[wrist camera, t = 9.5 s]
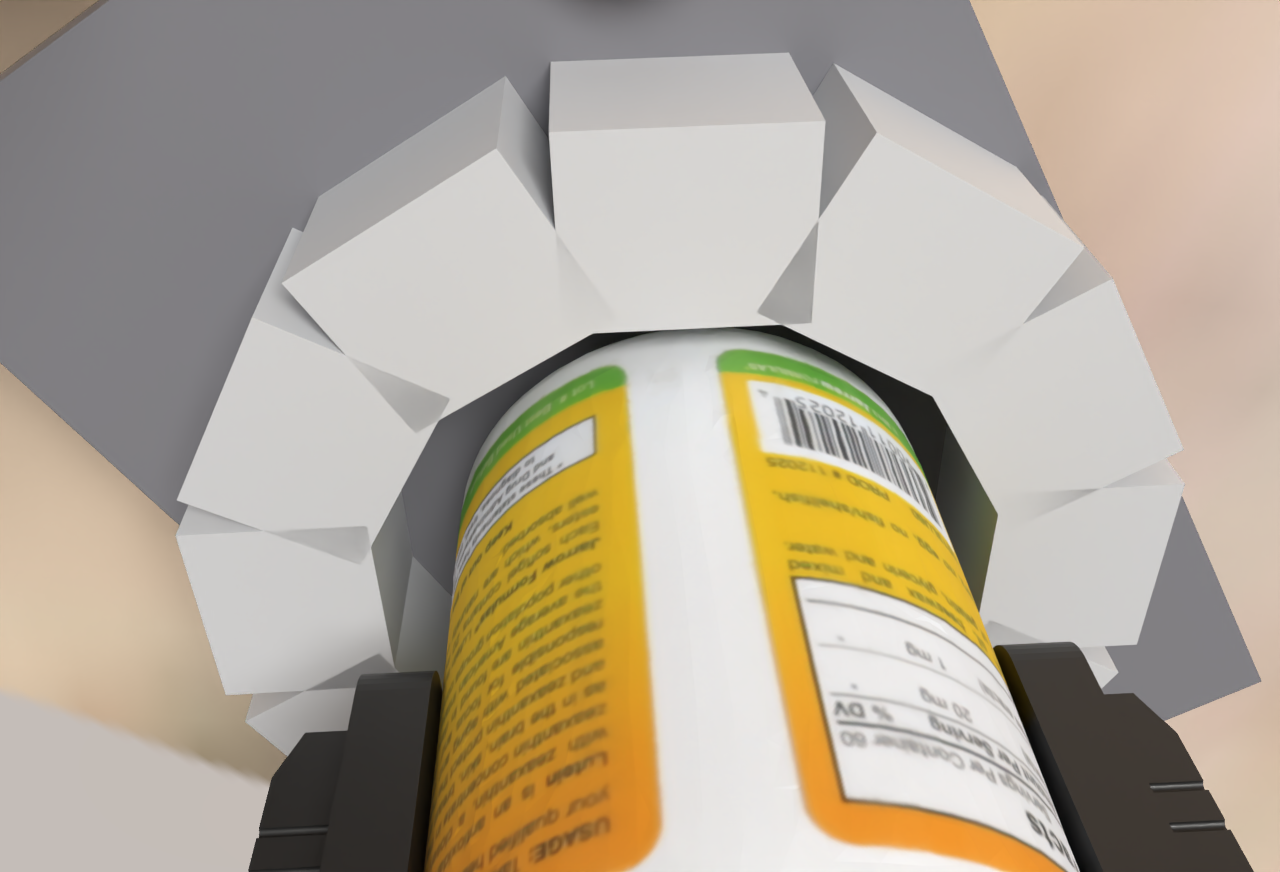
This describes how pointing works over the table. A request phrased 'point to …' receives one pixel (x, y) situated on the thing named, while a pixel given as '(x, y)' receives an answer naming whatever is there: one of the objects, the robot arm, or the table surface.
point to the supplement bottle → (720, 635)
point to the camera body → (565, 297)
